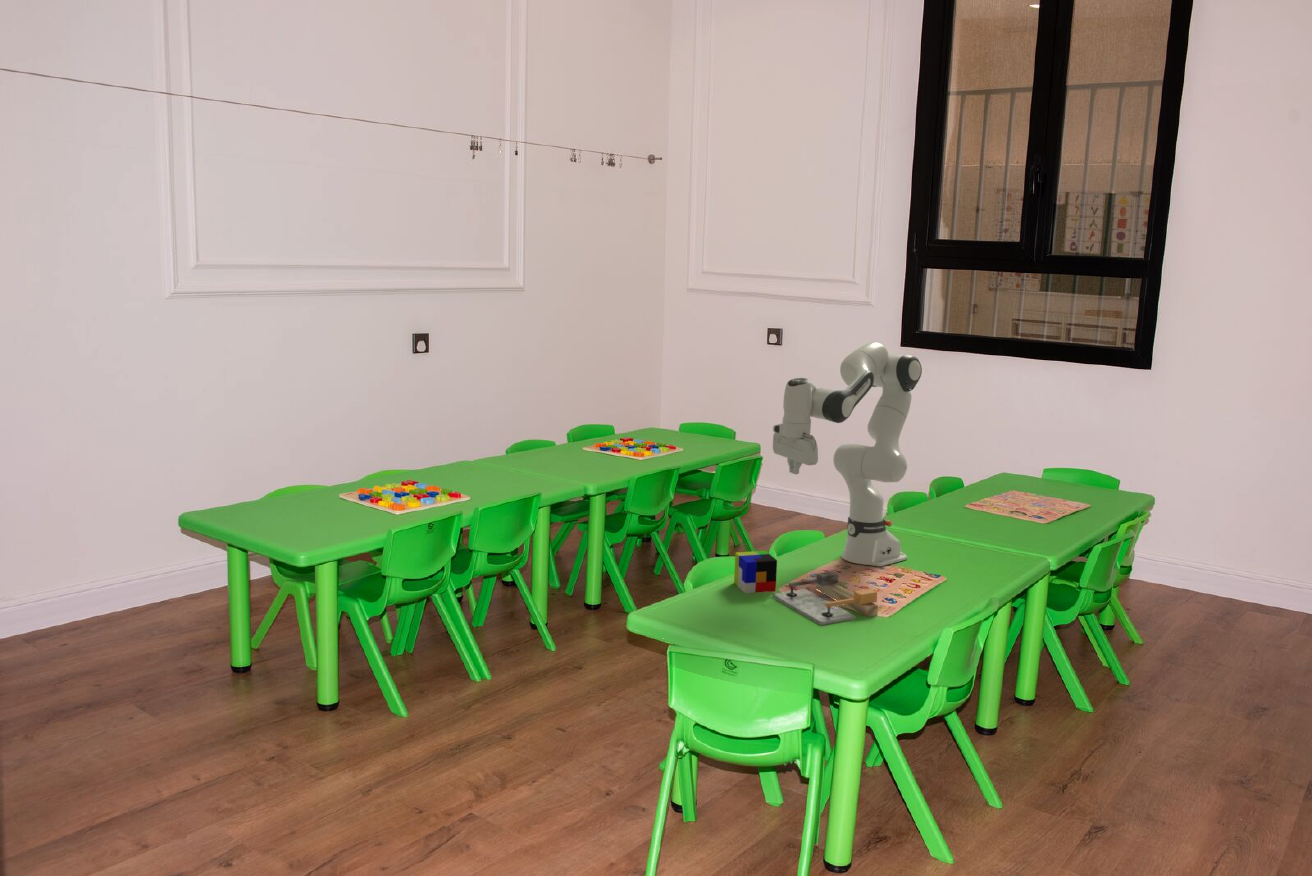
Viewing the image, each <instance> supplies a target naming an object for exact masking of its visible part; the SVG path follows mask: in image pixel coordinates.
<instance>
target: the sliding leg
mask: <svg viewBox="0 0 1312 876" xmlns="http://www.w3.org/2000/svg"><path fill="white" fill-rule="evenodd" d="M853 593H854V598H851V599H845V600H839V601H835V600H834V601H833V600H832V601H829V602H827V603H825V606H826V607H827V614H830V607H831V606H841V605H842V606H844V605H843V604H849V603H855V602H856V603H858V604H860V605H861V604H867V603H877V601H878V598H877V597H878V591H876V590H874V589H873V588H870V589H869V588H867V589H863V590H855V591H854V592H853Z"/></svg>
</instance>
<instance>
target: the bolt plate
mask: <svg viewBox="0 0 1312 876" xmlns="http://www.w3.org/2000/svg"><path fill="white" fill-rule="evenodd" d="M772 598H773V599H775V600H777V601H778V602H780V603H782V604H783V605H785V606H787V607H789V608H791V609H792V610H794V611H795V612H797V613H799V614H801V615H802V616H804V617H806V618H808V619H809V620H811V621H813V622H814V623H816V624H818V625H820V626H824V625H829V624H830V625H831V624H836V623H843V622H847V621H852V620H853V621H854V620H856V615H855V614H853V613H851V612H849V611H847V610H845V609H843V608H842V607H840V606H839V605H837V606H831V607H830V614H827V607H826V606H825V603H827V602H830V601H828V600H827V599H825V598H823V597H822V596H820V595H817V594H816V593H813V592H812V591H810V590H808V589H806V588H802V589H796V590H795V589H793V593H791V590H788V591H783V592H776V593H772Z"/></svg>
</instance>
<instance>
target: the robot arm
mask: <svg viewBox="0 0 1312 876" xmlns="http://www.w3.org/2000/svg"><path fill="white" fill-rule="evenodd" d="M839 371H840V372H839V373H840V377H841V378H842V380H843V382H844V383H845V384H846V385H847V387H846V388H845V389H843V390H839V389H838V390H835V389H829V388H824V387H818V386H816V385H814V383H812V381H811V380H810V378H809V379H808V378H806V377H798V378H791V379H790V380H788V381H787V383H786V385H785V389H784V394H783V403H782V404H783V411H784V413H783V417H782V423H779V424H775V425H773V427H772V430H773V431H772V432H774V433H773V436H772V450H773V453H774V455H778V456H780V457H783V458H786V459H787V464H788V467H789V468H788V469H789V470H788V471H789V473H791V474H793V475H799V474H800V469H801V467H802V464H803V465H805V466H806V465H807V466H815V465H817V463H818V462H819V452H818V451H819V448H818V443H817V440H816V438H815V437H814V435H812V434H811V427H812V425H811V424H812V419H811V418H815V419H821V420H825V421H829V422H832V423H836V424H842V423H843V422H845V421H847V419H848V418H849V417H850V416H851V415H852V413H853V411H854V409H855V408H856V406H857V405H858V404H859V403H860V402H861V400H862V399H864V397H865V396H866V395H867V394H868V393H869V391H870V390H871V389H872V388H877V387H879V388H882V393H881V396H879V399H878V401H877V403H876V405H875V407H874V410H873V411H872V414H871V416H870V419H869V421H868V424H867V432H868V435H869V436H870V438H872V440H874V441H875V444H874V445H873V446H868V445H862V444H859V443H858V444H856V443H853V444H852V443H847V444H841V445H839V446H838V447H837V448H836V450H835V452H834V454H833V465H834V467H835V468H834V469H835V470H836V471H837V472H838V473H839V474H840V475H841V476H842V478H843V480H844V482H845V484H846V486H847V488H848V494H849V516H847V525H846V526H847V527H846V528H847V535H846V541H845V546H844V549H843V552H842V555H841V558H842V559H843V560H845V561H847V562H850V563H854V564H857V565H864V566H865V565H867V566H873V567H874V566H875V567H883V566H887V565H892V564H895V563H898V562H901V561H902V562H903V561H907V559H908V556H907V555H906V554H905V553H904V552H902V551H901V550H902V549H901V543H900V540H899V539H898V538H897V537H896V536H895V535H893V534H892V533H890V532H889V531H888V530H887V528H886V526H887V527H888V528H890V527H892V526H893V522H892V520H888V519H886V520H885V519H884V517H883V514H884V501H885V500H884V497H883V495H882V493H881V492H880V491H879V490H877V488H875V487H874V485H873V483H872V481H875V482H876V481H877V482H881V483H898V482H900V481H902V480H903V478H904V477H905V475H906V473H907V470H908V463H907V460H906V458H905V456H904V455H903V453H902V451H901V450H900V447H899V445H900V444H899V439H900V436H901V433H902V430H903V428H904V424H905V422H906V419H907V418H908V414H909V411H910V408H911V402H912V393H911V391H913V390H914V389H915V387H916V386H917V384H918V383H919V381H920V379H921V377H922V371H923V369H922V364H921V362H920V360H919V358H918V357H916V356H914V355H910V354H889V352H888V349H887V348H886V347H885V346H884V345H883V344H882V343H880V342H876V341H875V342H874V341H873V342H869V343H866V344H864V345H862V346H861V347H859V348H857V349H855V350H854V351H852V352H851V353H849V355H847V356H845V358H844V359H843V360H842V362H841V364H840V369H839Z"/></svg>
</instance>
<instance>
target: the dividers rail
mask: <svg viewBox="0 0 1312 876" xmlns="http://www.w3.org/2000/svg"><path fill="white" fill-rule="evenodd" d="M839 575H840V574H839V573H837V572H835V571H834V570H833V571H831V570H830V571H825V572H819V573H816V578H812V579H805V580H799V581H793V582H788V587H790V591H791V593H793V591H794V588H795V587H799V586H800V587H801V586H806V585H812V584H815V590H816V589H818V590H820V591H821V592H822V593H825V594H826V595H828V596H830V597H832V598H834V599H836V600H837V601H839V600H845V599H851V598H854V592H853V591H850V590H848V589H846V588H845V587H842V586H841V585H838V584H839ZM822 593H821V594H822ZM826 595H825V596H826ZM844 605H845V607H846V606H847V608H848V609H849V610H852V611H854V612H856V613H858V614H860V615H861V616H863V617H865V618H870V617H875V615H876V616H878V611H879V609H878V608H879V605H878V604H876V603H875V602H873V603H867V604H861V605H860V604H858V603H856V602H855V603H849V604H844ZM844 605H843V606H844Z"/></svg>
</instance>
